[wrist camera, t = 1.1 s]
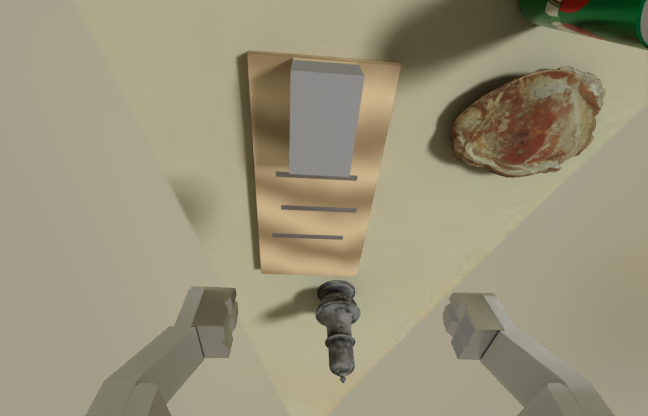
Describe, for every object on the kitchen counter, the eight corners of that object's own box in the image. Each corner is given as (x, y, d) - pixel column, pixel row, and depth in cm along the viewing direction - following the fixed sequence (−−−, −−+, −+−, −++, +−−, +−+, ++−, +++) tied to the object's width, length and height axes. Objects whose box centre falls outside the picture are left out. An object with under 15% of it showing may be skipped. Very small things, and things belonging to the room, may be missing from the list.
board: (249, 50, 24) (247, 53, 24) (398, 62, 25) (401, 65, 24) (262, 266, 39) (261, 273, 39) (355, 269, 40) (356, 276, 39)
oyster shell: (612, 52, 26) (645, 60, 23) (571, 159, 32) (593, 174, 29) (452, 73, 26) (467, 83, 24) (440, 174, 32) (451, 191, 30)
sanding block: (293, 57, 24) (290, 70, 21) (357, 62, 24) (364, 75, 21) (291, 151, 29) (289, 174, 25) (345, 154, 29) (349, 177, 26)
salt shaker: (320, 276, 41) (322, 368, 32) (362, 281, 42) (377, 372, 32) (311, 303, 45) (311, 393, 35) (350, 307, 45) (361, 396, 36)
